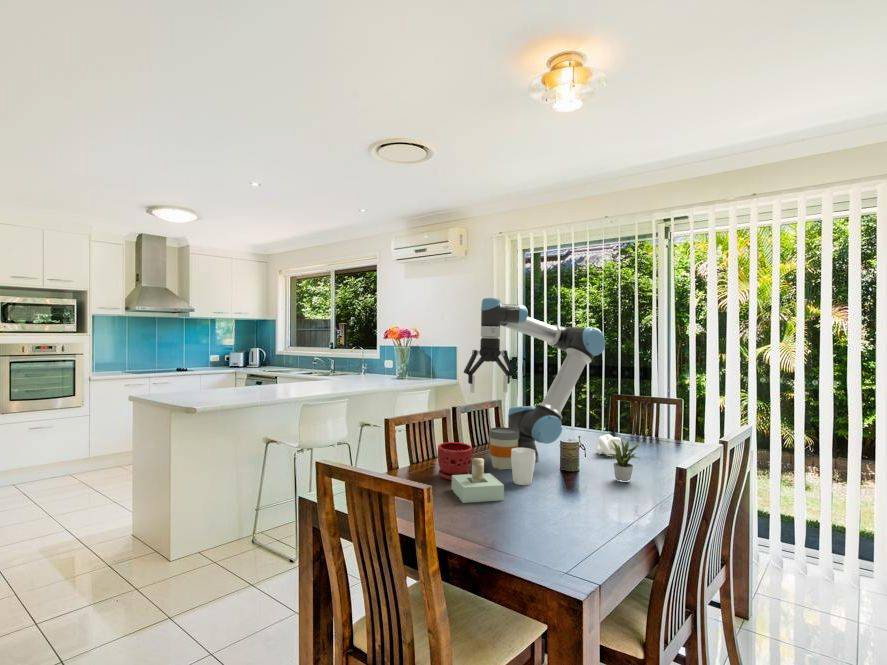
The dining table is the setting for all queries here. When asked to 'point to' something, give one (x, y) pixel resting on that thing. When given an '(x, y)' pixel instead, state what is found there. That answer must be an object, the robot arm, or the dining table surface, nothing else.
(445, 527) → the dining table surface
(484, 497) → the socket block
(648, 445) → the dining table surface
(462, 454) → the plant pot
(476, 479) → the peg
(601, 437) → the crumpled white lump
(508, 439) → the reusable coffee cup
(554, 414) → the robot arm
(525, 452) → the cup
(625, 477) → the house plant
